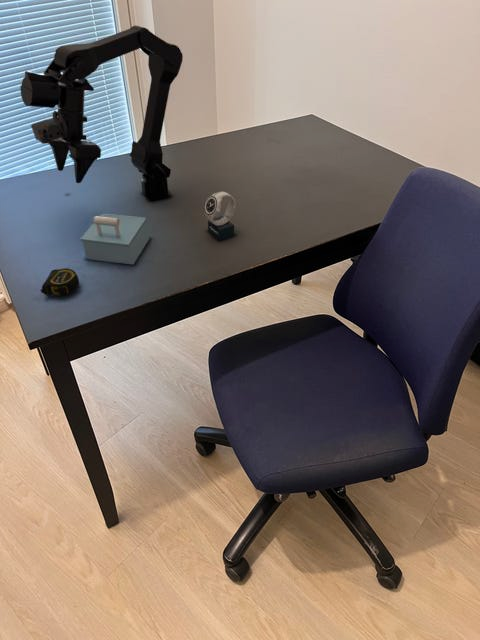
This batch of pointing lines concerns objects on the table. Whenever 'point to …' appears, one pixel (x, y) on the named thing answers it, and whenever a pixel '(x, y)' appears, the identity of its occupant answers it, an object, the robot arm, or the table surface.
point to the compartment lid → (114, 229)
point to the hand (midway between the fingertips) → (69, 176)
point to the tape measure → (60, 282)
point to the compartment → (118, 249)
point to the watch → (220, 224)
